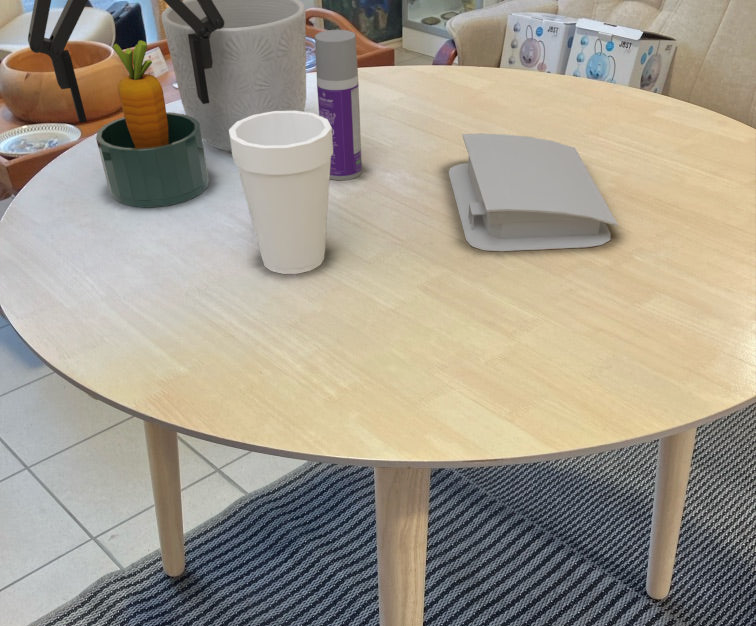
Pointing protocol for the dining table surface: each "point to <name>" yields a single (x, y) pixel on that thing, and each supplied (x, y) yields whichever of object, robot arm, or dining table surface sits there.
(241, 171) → the foam cup
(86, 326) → the dining table surface
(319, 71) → the container
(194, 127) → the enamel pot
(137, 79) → the carrot
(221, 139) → the planter
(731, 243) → the dining table surface
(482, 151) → the grey flat folded piece
